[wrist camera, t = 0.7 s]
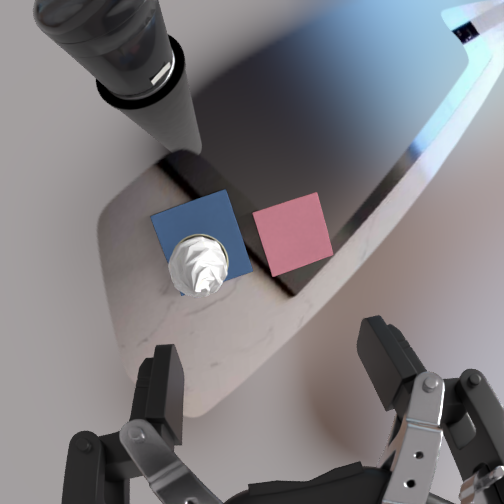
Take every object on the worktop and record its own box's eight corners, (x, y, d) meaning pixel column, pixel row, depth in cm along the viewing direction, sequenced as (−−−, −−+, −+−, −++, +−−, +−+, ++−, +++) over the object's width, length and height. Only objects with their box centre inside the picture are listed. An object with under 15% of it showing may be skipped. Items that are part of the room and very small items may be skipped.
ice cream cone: (171, 249, 33) (143, 298, 18) (197, 213, 32) (185, 236, 18) (207, 274, 34) (206, 338, 20) (233, 239, 34) (250, 281, 19)
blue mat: (150, 216, 32) (150, 216, 32) (225, 189, 33) (225, 189, 32) (181, 295, 35) (181, 295, 34) (252, 270, 35) (253, 271, 35)
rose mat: (252, 212, 34) (252, 213, 33) (316, 191, 34) (316, 192, 34) (272, 276, 36) (272, 277, 35) (332, 254, 36) (333, 254, 36)
